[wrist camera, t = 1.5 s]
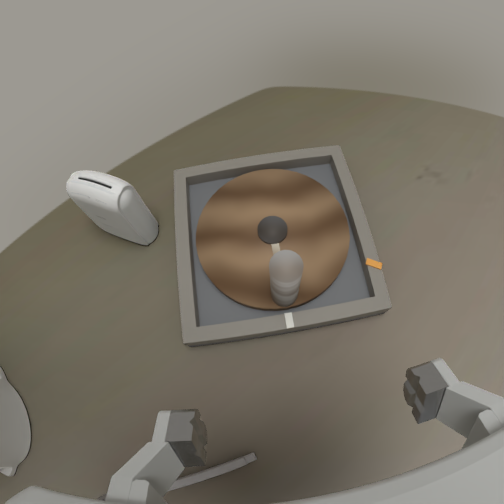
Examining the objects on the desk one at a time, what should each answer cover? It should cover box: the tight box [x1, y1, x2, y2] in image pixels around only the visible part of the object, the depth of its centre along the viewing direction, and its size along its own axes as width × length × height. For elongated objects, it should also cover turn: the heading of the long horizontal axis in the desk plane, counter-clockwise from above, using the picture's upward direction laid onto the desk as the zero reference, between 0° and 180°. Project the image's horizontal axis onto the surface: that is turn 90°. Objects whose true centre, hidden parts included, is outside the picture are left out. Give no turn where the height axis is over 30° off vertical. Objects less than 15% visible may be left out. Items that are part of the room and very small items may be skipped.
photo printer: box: [66, 170, 158, 245], centre depth 39 cm, size 10×4×12 cm, turn 69°
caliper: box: [97, 452, 257, 501], centre depth 29 cm, size 20×1×6 cm, turn 114°
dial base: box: [174, 145, 392, 347], centre depth 41 cm, size 24×24×3 cm
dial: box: [196, 169, 350, 311], centre depth 36 cm, size 19×19×11 cm
